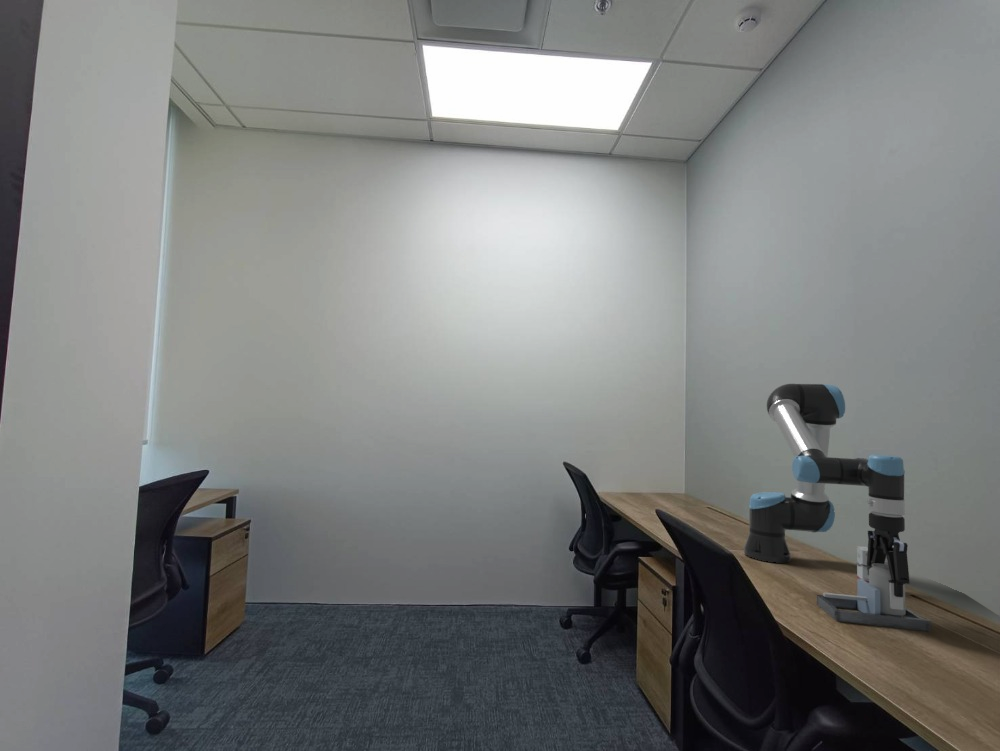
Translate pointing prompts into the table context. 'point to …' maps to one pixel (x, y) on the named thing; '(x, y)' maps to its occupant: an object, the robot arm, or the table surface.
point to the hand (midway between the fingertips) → (887, 602)
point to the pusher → (863, 597)
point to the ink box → (863, 563)
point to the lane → (870, 615)
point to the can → (884, 589)
